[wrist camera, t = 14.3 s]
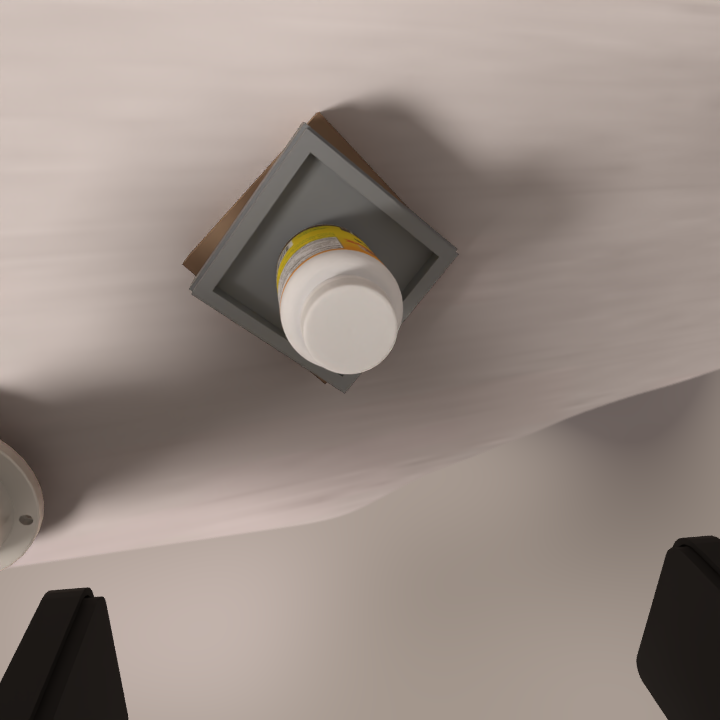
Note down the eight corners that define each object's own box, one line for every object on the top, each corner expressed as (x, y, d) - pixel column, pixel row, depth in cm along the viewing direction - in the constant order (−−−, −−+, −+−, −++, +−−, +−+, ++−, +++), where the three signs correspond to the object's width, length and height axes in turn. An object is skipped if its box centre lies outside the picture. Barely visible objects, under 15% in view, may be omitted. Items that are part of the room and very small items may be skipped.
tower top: (338, 370, 38) (345, 397, 34) (196, 275, 34) (186, 294, 30) (443, 239, 35) (463, 253, 32) (302, 122, 32) (306, 122, 28)
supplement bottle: (383, 296, 33) (432, 366, 24) (296, 329, 33) (311, 411, 24) (354, 206, 31) (396, 244, 22) (259, 241, 31) (261, 294, 22)
